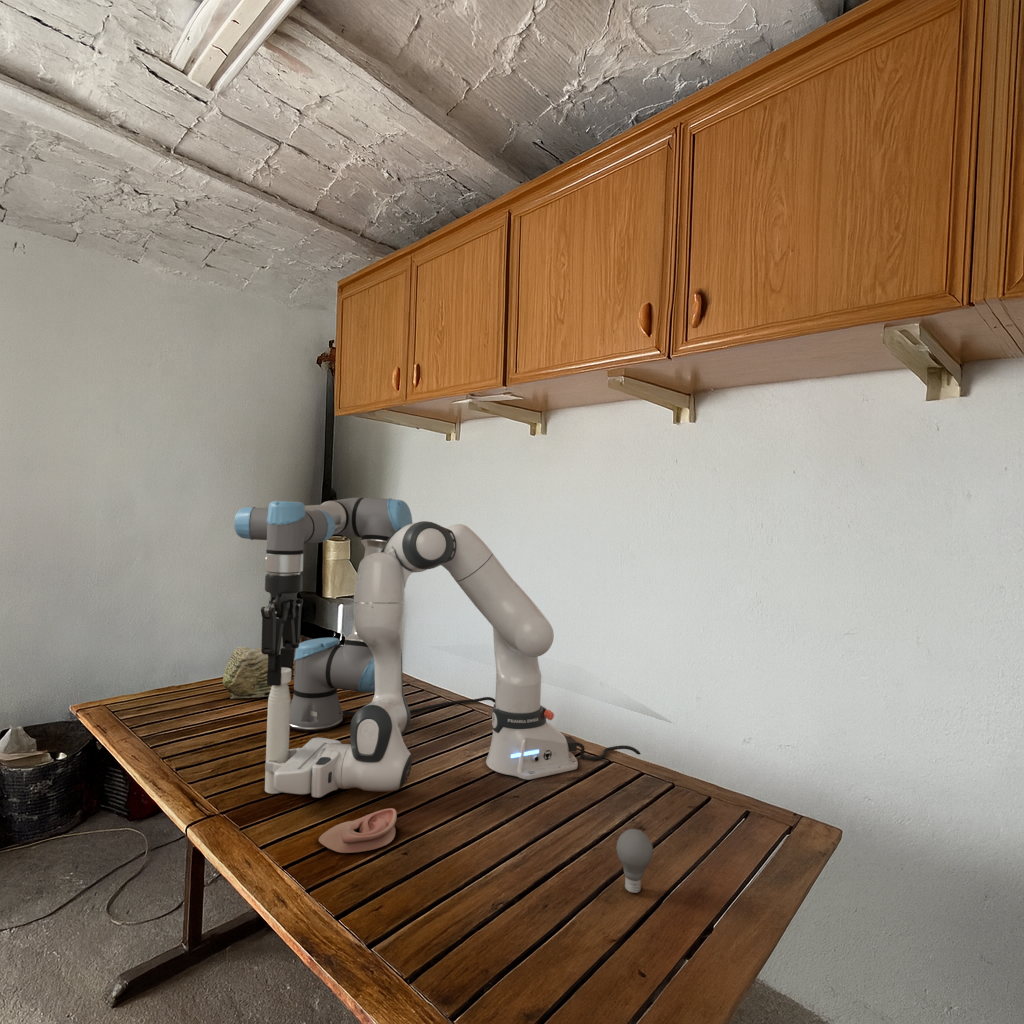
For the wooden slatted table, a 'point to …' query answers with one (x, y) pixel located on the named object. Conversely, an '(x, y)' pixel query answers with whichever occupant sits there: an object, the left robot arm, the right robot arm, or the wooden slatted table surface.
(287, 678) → the cap
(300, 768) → the right robot arm
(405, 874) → the wooden slatted table surface
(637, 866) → the light bulb
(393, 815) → the anatomical model
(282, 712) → the bottle
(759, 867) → the wooden slatted table surface
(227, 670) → the fossil
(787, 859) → the wooden slatted table surface
